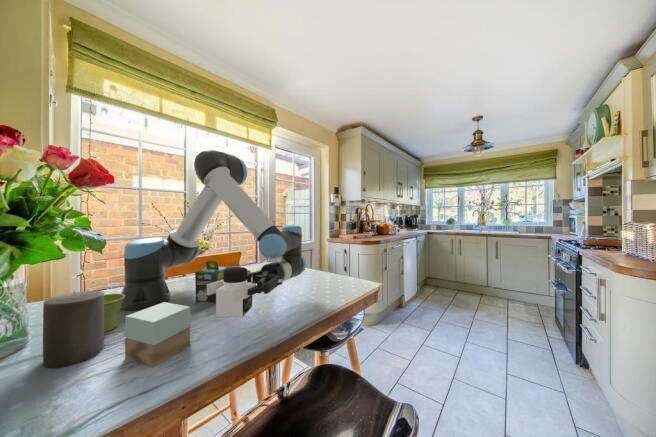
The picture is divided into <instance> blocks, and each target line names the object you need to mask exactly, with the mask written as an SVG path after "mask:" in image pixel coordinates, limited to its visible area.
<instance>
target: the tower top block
mask: <svg viewBox="0 0 656 437" xmlns="http://www.w3.org/2000/svg"><path fill="white" fill-rule="evenodd" d="M124 319H125V324H124V326H125V333H124V334H125V338H127V339H131V340H135V341H139V342H143V343H147V344H151V345H155V344H157V343H159V342H161V341H163V340H165V339H167V338H169V337H171V336H173V335H175V334H177V333H179V332H181V331H183V330H184V329H186V328H188V327H190V328H191V306H189V305H183V304H182V305H181V304H177V303H171V302H167V301H166V302H163V303H160V304H158V305H155V306H152V307H149V308H144V309H140V310H138V311H136V312H134V313H131V314H128V315H125V318H124Z"/></svg>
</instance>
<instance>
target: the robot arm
mask: <svg viewBox="0 0 656 437" xmlns="http://www.w3.org/2000/svg"><path fill="white" fill-rule="evenodd" d="M192 167H193V171H194V173H195V175H196V177H197V178H198V179H199V181H200V182H201V183H202V184H203V186H202V188H201V189H200V191H199V193H198V194H197V196H196V198H195V199H194V201H193V202H192V203H191V206H190V208H189V209H188V211H187V212H186V214H185V216H184V217H183V219H182V220H181V223H180V224H179V226H178V227H177V229H174V230H171V231H170V233H169V235H168V236H167V238H166V239H164V238H163V237H158V236H157V237H148V238H139V239H135V240H132V241H129V242H128V243H126V244H125V245H124V253H123V259H124V264H123V265H124V285H123V289H122V291H121V293H120V294H124V295H125V298H123V302H122V303H121V308H120V310H125V311H135V310H144V309H147V308H149V307H152V306H155V305H158V304H160V303H163V302H166V303H167V302H168V301H169V300H170V299H171V293H170V290H169V287H168V285H167V282H166V280H165V270H168V269H172V268H177V267H180V266H185V265H187V264H189V263H192V262H194V261H195V260H196V259H197V257H198V256H199V254H200V249H199V248H200V240H199V237H200V236H201V234H202V233H203V231H204V230H205V228H206V226H207V225H208V223H209V222H210V220H211V218H212V217H213V215H214V214H215V212H216V210H217V209H218V207H219V205H220V204H221V203H222V202H223V203H224V205H225V206H227V208H228V209H229V210H230V211H231V212H232V214H233V215H234V216H235V217H236V218H237V219H238V220H239V221H240V223H241V224H242V225H243V226H244V227H245V228H246V229H247V231H248V232H249V233H250V234H251V235H252V236H253V237H254V239H255V240H256V241H257V242H258V248H259V252H260V254H261V255H262V256H263V257H264V258H267V259H278V258H280V259H278V260H274V261H272V262H269V263H266V264H263V266H262V267H261V268H260V270H256V271H252V272H251V270H249V269H247V282H251V283H253V284H251V285H248V286H245V287H243V288H240V289H238V290H235V301H236V302H238V301H241V300H243V299H245V298H247V297H250V296H252V297H253V296H254V295H257V294H262V293H263V294H265V295H268V294H269V293H271V291H274V289H275V288H277V287H279V286H280V285H282V284H283V282H285V281H288V280H289V279H293V278H296V277H298V276H299V275H301V274H302V273H303V272H304V271H305V270H306V269H307V262H306V260H305V257H303V256H302V244H303V243H302V242H303V233H302V230H303V229H302V226H299V225H293V224H291V225H290V224H289V225H283V226H282V227H281V230H280V229H279V228H278V227H277V226H276V224H275V223H274V222H273V221H272V220H271V219H270V218H269V217H268V216H267V214H266V213H265V212H264V211H263V210H262V209H261V208H260V207H259V206H258V204H257V203H256V202H255V201H254V200H253V199H252V197H251V196H249V194H248V193H247V192H246V191H245V190H244V189H243V188H242V186H241V185H243V183H245V181H246V180H247V177H248V170H247V165H246V164H245V162H244V161H243V160H242V159H241V158H239V157H238V156H235V155H233V154H230V153H227V152H225V151H221V150H219V149H217V148H214V147H213V148H212V147H211V148H210V147H207V148H205V149H201V150H199V151H198V152H197V153H196V154H195V156H194V158H193V162H192ZM223 285H224V284H223V277H222V280H220V281H217V282H214V283H210V284H207V295H211V294H214V293H216V290H217V289H218V288H220V287H222V286H223Z"/></svg>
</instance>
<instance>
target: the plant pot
mask: <svg viewBox="0 0 656 437" xmlns="http://www.w3.org/2000/svg"><path fill="white" fill-rule="evenodd" d="M123 298H125V295H124V294H121V293H108V294H104V333H106V332H110V331H112V330H113V329H115V328H117V327H118V325H119V319H120V318H119V317H120V313H121V309H120V308H121V303H122V302H123Z"/></svg>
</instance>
